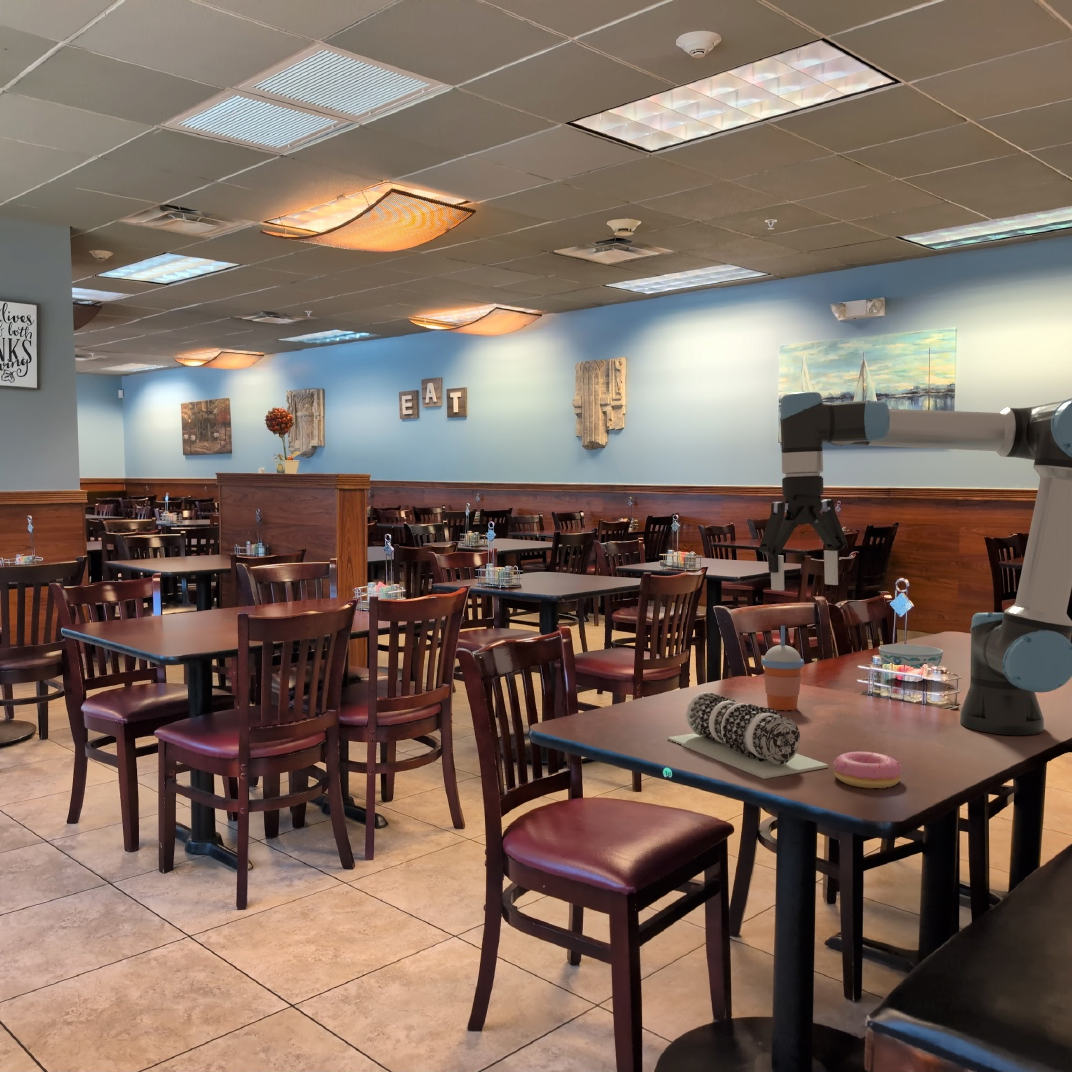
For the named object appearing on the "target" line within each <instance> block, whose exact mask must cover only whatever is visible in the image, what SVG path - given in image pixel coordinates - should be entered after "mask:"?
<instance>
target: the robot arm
mask: <svg viewBox="0 0 1072 1072" xmlns="http://www.w3.org/2000/svg"><path fill="white" fill-rule="evenodd" d="M779 421H780V442H781V445H780V447H781V473H782V475H785V476H784V477H782V479H781V491H782V496H783V497H784V498H785V500H784V501H773V502H771V505H770V515H769V518H768V520H767V524H766V526H765V530H764V533H763V535H762V537H761V541H760V543H759V547H758V551H759V552H760V553H763V554H764V555H765V556H767V562H768V565H767V566H768V568H767V570H768V572H769V573H770V585H771V587H770V589H771V590H772V591H781V592H783V591H785V563H784V562H785V561H784V558H785V557H784V555H780V554H781V552H782V551H783V549H784V547H785V546H786V545H787V542H788V540H789V539H790V537H791V535H792V534H793V532H794V530H795V529H796V528H798V526H801V525H802V526H803V525H810V526H811V527H812V528H813V530H814V531H815V532H816V534H817V535H818V537H819V538H820V540H821V541H822V543H823V544H824V546H825V547H826V549H827V550H823V559H824V560H823V561H824V563H823V565H824V567H823V568H824V570H823V571H824V584H825V585H833V586H838V585H839V569H838V567H839V566H840V551H843V550H844V548H845V547H847V546H848V539H847V538H846V534H845V532H844V530H843V527H842V524H841V522H840V520H839V516H838V515H837V513H836V507H835V501H834V499H821V498H822V497H821V496H823V494H824V477H823V475H821V473H823V472H824V459H823V458H824V457H823V455H824V454H823V445H824V444H823V443H825V444H826V443H828V444H830V445H832V446H836V447H837V446H839V447H842V446H869V447H870V446H874V447H892V448H893V447H894V448H895V447H897V448H899V447H900V448H913V449H914V448H917V449H918V448H919V449H921V448H922V449H936V450H937V449H938V450H939V449H940V450H941V449H942V450H959V451H960V450H963V451H985V452H986V451H988V452H996V453H997V454H998V455H999V456H1000V457H1004V458H1019V459H1024V460H1030V461H1031V460H1032V461H1034V462H1033V469H1034V470H1035V472H1036V473H1037V474H1038V476H1039V484H1038V487H1037V494H1036V498H1035V503H1034V508H1033V514H1032V517H1031V518H1032V519H1031V524H1030V527H1029V528H1030V529H1029V533H1028V538H1027V542H1026V547H1025V548H1026V549H1025V553H1024V558H1023V563H1022V566H1021V567H1022V569H1021V574H1020V577H1019V583H1018V588H1017V593H1016V597H1015V598H1016V599H1015V602H1014V604H1013V605H1011V606H1010V607H1008V608H1006V609H1004V611H1003V612H976V613H975V614H973V616H972V618H971V626H970V629H969V630H970V681H969V688H968V691H967V693H966V696H965V699H964V702H963V703H962V704H963V705H962V707H961V709H960V714H959V715H960V718H959V720H960V721H959V722H960V725H962V726H963V727H965V728H968V729H971V730H974V731H978V732H983V733H988V734H995V735H996V734H997V735H1005V736H1030V735H1031V736H1032V735H1037V734H1041V733H1042V732H1044V730H1045V726H1044V725H1045V721H1044V720H1045V719H1044V718H1045V717H1044V716H1043V712H1042V709H1041V706H1040V703H1039V701H1038V696H1037V694H1036V693H1038V694H1039V693H1040V694H1041V693H1043V694H1044V693H1049V692H1053V691H1056V690H1058V689H1060V688H1061V687H1063V686H1064V685H1066V684H1067V683H1068V682H1069V680H1071V678H1072V642H1071V641H1072V619H1071V618H1070V617H1069V615H1068V614H1067V613H1068V612H1067V611H1068V607H1069V601H1070V597H1071V592H1072V398H1067V399H1065V400H1060V401H1056V402H1055V401H1054V402H1050V403H1045V404H1039V405H1037V406H1036V405H1035V406H1030V407H1020V408H1019V407H1017V408H1016V407H1012V408H1011V407H1005V408H1004V409H1002V410H1001V411H1000V412H989V411H988V412H986V411H985V412H983V411H982V412H980V411H962V410H961V411H959V410H932V409H930V410H929V409H910V408H909V409H906V408H905V409H901V408H889V406H888V404H887V403H886V402H885V401H883V400H870V399H867V400H856V401H842V402H841V401H839V402H826V401H825V402H824V401H823V399H822V395H821V393H820V392H818V391H803V392H801V391H800V392H792V393H791V392H790V393H787V394H785V395H783V396H782V398H781V400H780V418H779Z"/></svg>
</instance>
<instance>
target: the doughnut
mask: <svg viewBox="0 0 1072 1072" xmlns="http://www.w3.org/2000/svg"><path fill="white" fill-rule="evenodd" d="M831 767H832V769H833V773H834V776H835V777H836V778H837V779H838V780H839V781H840V782H842V783H844V784H847V785H849V786H852V787H858V788H862V787H863V789H873V788H879V789H886V788H887V787H888V788H892V787H893V786H896V785H897V784H898V783H900V781H901V779H902V775H904V772H903V768H902V764H900V762H899V761H898V760H897V758H894V757H892V756H890V755H886V754H885V753H884V754H882V753H879V752H874V751H860V750H859V751H850V752H845V753H841V754H839V755H838V756H837V757H836V758H835V760H833V761H832V766H831Z"/></svg>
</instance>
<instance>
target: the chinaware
mask: <svg viewBox="0 0 1072 1072" xmlns="http://www.w3.org/2000/svg"><path fill="white" fill-rule="evenodd" d="M878 652H879V657H880V659H881V662H882V663H883V665H884V664H890V663H892V664H894V665H904V664H905V665H907V666H910V667H913V668H920V667H922V666H923V665H924V664H927V663H932V664H934V665H935V666H937V668H938V667H939V666H940V664H941V660H942V658H943V655H944V650H943V649H941V648H938V647H935V646H931V645H930V646H929V645H922V644H921V645H920V644H911V643H910V644H908V643H907V644H906V643H905V644H904V643H900V644H899V643H895V644H894V643H893V644H891V643H890V644H884V645H879V647H878Z"/></svg>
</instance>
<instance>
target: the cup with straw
mask: <svg viewBox="0 0 1072 1072" xmlns="http://www.w3.org/2000/svg"><path fill="white" fill-rule="evenodd" d="M804 660H805V659H802V658H801V655H800V653H799V652H798V651H797V650H796V649H795V648H794V647H792V646H789V645H786V626H785V625H781V626H780V644H778V645H775V646H772V647H771V648H770V649H768V651H766V653H765V655H764V657H762V658H761V660H760V661H761V662H760V663H761V666H763V667H764V672H763V677H764V678H763V679H764V688H765V689H764V690H765V694H766V701H767V708H768V709H771V710H773V709H774V710H775V711H779V710H784V711H783V712H786V711H787V712H789V711H788V710H791V711H795V710H797V707H798V701H799V700H798V699H799V695H800V691H801V689H800V688H801V679H802V674H801V671H802V668H803V667H804V666H805V661H804Z"/></svg>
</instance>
